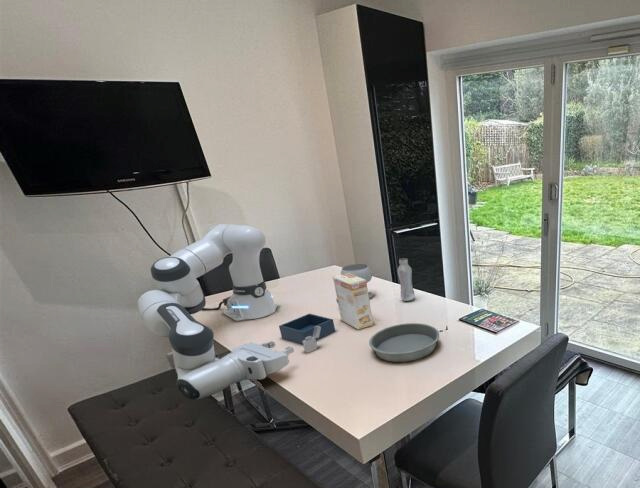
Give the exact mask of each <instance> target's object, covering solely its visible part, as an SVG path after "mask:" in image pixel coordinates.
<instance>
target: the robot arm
mask: <svg viewBox="0 0 640 488" xmlns="http://www.w3.org/2000/svg"><path fill="white" fill-rule="evenodd" d="M265 245H266V236H265V235H264V233H263V232H262V231H261V230H260V229H258V228H256V227H253V226H251V225H247V224H246V225H245V224H233V223H232V224H230V223H219V224H215V225H212V226H210V227H209V228H208V229H207V231H206V233H205V234H204V236H203V237H201V238H199V239H198V240H196V241H195V242H192V243H191V244H189V245H187V246H185V247H182V248H181V249H179V250H177V251H175V252H173V254H171V255H169V256H167V257H162V258H159V259H157V260H156V261H154V262H153V264H152V265H151V267H150V274H151V277H152V279H153V280H154V282H155V284H156V287H157V289H152V290H148V291H146V292H144V293H143V294H141V295H140V296H139V298H138V300H137V309H138V312H139V315H140V318H141V320H142V322H143V323H144V325H145V327H146V329H148V331H150V332H151V333H152V334H153V335H155V336H156V337H160V338H168V340H169V344H170V347H171V352H172V357H173V364H174V368H175V373H176V374H177V380H176V387H177V390H178V391H179V392H180V393H181V394H182V395H183V396H184V397H185V398H187V399H189V400H192V401H193V400H194V401H195V400H196V401H197V400H201V399H205V398H209V397H210V396H213V395H216V394H217V393H220V392H222V391H224V390H226V389H227V388H229V387H230V386H231V385H233V384H237V383H240V382H243V381H244V380H245V381H248V380H249V381H250V380H256V381H257V380H260V381H261V380H264V379H266V378H267V375H271V374H274V373H276V372H277V371H280V370H282V369H284V368H285V367H287V366H288V365H289V364H290V358H289V356H290V355H291V354H293V353H294V352H295V350H294V348H293V347H292V346H288V347H286V348H285V350H284V351H283V350H277V349H274V348H275V347H276V343H275V341H271V340H270V341H267V342H264V343H263V342H262V343H259V344H258V343H255V342H250V341H249V342H245V343H242V344H241V345H239V346H237V347H235V348H233V349H232V350H230V353H227V354H226V355H224V356H223V357H221V358H217V357H216V354H215V346H214V341H215V339H214V337H215V336H214V335H215V334H214V331H213V329H211V327H209V326H208V325H205V324H204V323H201V322H200V321H198V320H196V318H195V317H193V316H192V315H194V314H197V313H199V312H201V311H217V310H221V308H222V305H224V307H227V308H226V309H225V310H223V315H226V316H227V317H229V318H230V319H232V320H234V321H236V322H239V321H240V322H241V321H246V320H253V319H254V320H256V319H261V318H264V317H267V316H269V315H272V314H274V313H276V309H277V308H278V307H279V306H278V304H277V303H275V302H274V299H273V298H274V296H273V295H272V294H271V293H272V292H271V291H270V290H269V289H267V283H266V281H265V280H264V278H263V274H262V270H261V266H260V265H261V263H260V255H261V251H262V250H263V249H264V247H265ZM229 254H232V261H231V263H230V264H229V266H228V271H229V274H230V278H231V281H232V284H231V285H230V286H231V288H232V294H231V295H230V296H227V297H225V298H223V299H222V301H220V302H219V303H218V307H213V308H208V307H206V305H207V304H206V303H207V302H206V296H205V294H204V292H203V289H202V287H201V284H200V282H199V280H198V278H200V277H202V276H204V275H205V274H207V273H209V272H210V271H212V270H214V269H215V268H217V267H219V266H221V265H222V264H223V263H224V258H225V257H226V256H227V255H229Z"/></svg>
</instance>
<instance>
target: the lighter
mask: <svg viewBox="0 0 640 488" xmlns="http://www.w3.org/2000/svg"><path fill="white" fill-rule="evenodd" d="M320 330H321V327H320V326H315V328H314V333H313V337H312V336H308V337H306V338H305V340H304V341H302V342H303V344H302V345H303V350H304V352H305V353H306V354H308V353H311V352H313V351H315V350H317V349H318V348H319V347H318V344H317V340H316V339H315V338H319V335H320Z"/></svg>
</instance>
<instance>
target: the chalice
mask: <svg viewBox="0 0 640 488" xmlns="http://www.w3.org/2000/svg"><path fill="white" fill-rule="evenodd" d="M346 273H350V274H352V275H355V276H357V277H360V278H362V279H365V280H366V282H367V284H368V283H369V282H371V280H372V278H373V273H372V270H371V269H370V267H369V266H368V265H367V264H364V263H355V264H348V265H345V266H343V267H342V268H341V271H340V275H341V274H346ZM368 295H369V299H371V298H372V297H373V296H374V294H373V293H372V292H370V291H368Z"/></svg>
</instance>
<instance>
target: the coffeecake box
mask: <svg viewBox="0 0 640 488" xmlns="http://www.w3.org/2000/svg"><path fill="white" fill-rule="evenodd" d="M332 279H333V284H334V290H335V295H336V301H337V300H338V303H337V305H338V310H339V315H340V320H341V321H342V322H344V323H345V324H348V325H349V326H351V327H352V328H355V329H356V330H361V329H364V328H368V327H370V326H373V325H374V320H373V313H372V308H371V301H370V298H369V295H368V292H369V289H368V283H367V282H366V280H365V279H362V278H360V277H357V276H355V275H352V274H350V273H346V274H341V273H340V274H338V275H334V276H332Z"/></svg>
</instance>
